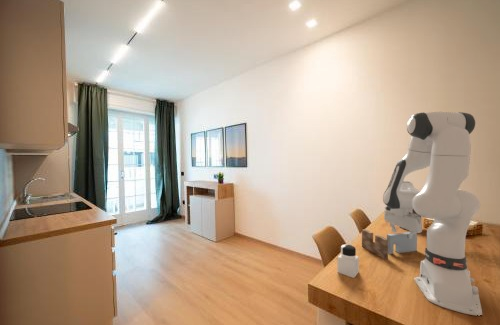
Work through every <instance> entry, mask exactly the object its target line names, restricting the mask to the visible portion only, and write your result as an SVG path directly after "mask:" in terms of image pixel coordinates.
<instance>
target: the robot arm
mask: <svg viewBox="0 0 500 325" xmlns="http://www.w3.org/2000/svg"><path fill="white" fill-rule="evenodd" d="M406 124H407V125H406V131H407V133H408V135H410V136H411V138H410V140H409V144H408V148H407V151H406V154H405V155H404V156H403V157H402V159H400V160H398V161H397V163H396V165H395V167H394V170H393V173H392V175H391V178H390V180H389V182H388V185H387V187H386V189H385V191H384V193H383V197H382V201H383V204H384V205H385V206H384V210H385V211H384V213H383V214H384V215H383V219H384V222H387V223H389V225H390V228H391V232H393V233H396V232H397V228H396V226H397V227H399V228H400V227H402V228H404V229H403V230H406V229H407V231H408V232H410V233H409V234H407V238H409V239H412V235H413V234H414V233H417V234H420V233H422V232H423V223H422V222H423V221H422V218H427V219H430V220H431V219H432V220H433V222H432V223H431V225H430V226H429V227H427V230H426V247H425V250H424V256H425V257H424V259H423V260H421V261H420V263H419V266H420V267H419V276H416V277H414V282H415V283H416V284H417V286H418V288H419V289H420V291H421V292H422V294H423V295H424V297H425V298H426V299H427V301H429V302H430V303H432V304H435V305H436V306H439V307H442V308H445V309H447V310H451V311H455V312H458V313H462V314H465V315H472V316H477V315H478V316H480V315H482V316H483V309H482V304H481V300H480V296H479V287H478V286H475V285H472V283H475V278H472V277H471V271H470V270H469V269H468V261H467V260H468V259H467V257H466V256H465V251H466V249H465V248H466V236H467V232H468V229H469V226H470V225H471V222H472V219H473V217H474V216H475V214H477V213H478V212H479V210H480V208H481V203H480V200H479V198H478V197H477V196H476V195H475V194H473V193H472V192H470V191H466V190H461V189H459V188H460V187H461V185H462V184H463V183H464V182H465V181H466V180H467V179H468V176H469V171H470V165H471V164H470V161H471V153H472V152H471V145H472V144H471V138H470V137H471V136H470V134H471V133H473V131H474V130H475V128H476V119H475V117H474V115H472V114H471V113H467V112H461V111H458V112H452V111H451V112H449V111H429V112H418V113H414V114H412V115H411V116H410V117H409V118H408V121H407V123H406ZM428 167H429V170H428V175H427V178H426V180H425V182H424V185H423V186H422V188H421V189H420V190H419V189H417V188H416V187H415V185H414V184H413V182H411V181H404V180H405V178H406V177H407V176H408V175H409V174H411V173H413V172H416V171H419V170H423V169H425V168H426V169H427V168H428ZM413 209H414V211H415V212H416V213H417V214H418V215H417V214H413V213H412V210H413ZM419 215H420V216H421V217H420V216H419ZM402 228H401V229H402ZM478 316H477V317H478ZM480 317H481V316H480Z"/></svg>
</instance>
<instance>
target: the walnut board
mask: <svg viewBox="0 0 500 325" xmlns="http://www.w3.org/2000/svg"><path fill="white" fill-rule="evenodd" d="M361 247H362V248H364V249H366V250H367V251H369V252H371V253H373V254H375V255H377V256H378V257H380V258H382V259H384V260H388V258H389V253H388V239H387V237H386V238H385V237H383V236H381V235H379V234H375V235H374V232H372V231H370V230H367V229H366V228H365V229H361Z"/></svg>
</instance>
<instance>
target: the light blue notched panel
mask: <svg viewBox="0 0 500 325" xmlns="http://www.w3.org/2000/svg"><path fill="white" fill-rule="evenodd" d="M409 233H410V232H409V231H408V232H397V233H396V232H395V233H388V234H386V239H388V255H389V254H390V255H393V254H394V245H395V252H396V253H397V254H401V253H402V254H403V253H411V252H418V233H414V234H413V235H412V239H409V238H407V234H409Z"/></svg>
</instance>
